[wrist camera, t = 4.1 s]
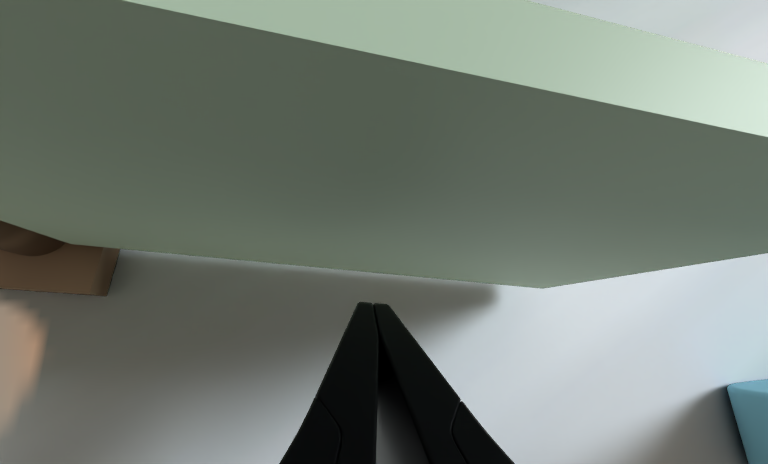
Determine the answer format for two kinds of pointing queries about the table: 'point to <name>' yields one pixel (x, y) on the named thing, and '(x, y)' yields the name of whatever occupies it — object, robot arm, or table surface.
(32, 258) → the brown piece
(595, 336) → the table surface
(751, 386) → the data package
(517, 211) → the sage green panel
